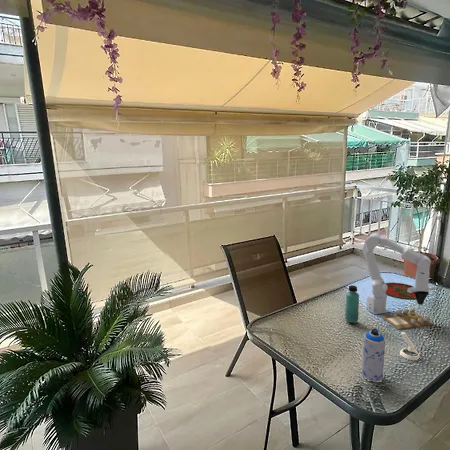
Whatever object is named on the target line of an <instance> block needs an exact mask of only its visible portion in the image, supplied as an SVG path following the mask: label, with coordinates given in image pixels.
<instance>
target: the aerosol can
mask: <svg viewBox="0 0 450 450" xmlns="http://www.w3.org/2000/svg"><path fill="white" fill-rule="evenodd" d="M362 346H363V347H362V363H361V372H362V375H363V376H364V377H365V378H367V379H369V380H372V381H380V380H382V378H383V379H384V364H385V353H386V352H385V351H386V338H385V337H384V335H383V334H382V333H380V332H379V329H377V328H372V329H371V330H370V331H367V332H365V333H364V336H363V345H362ZM362 375H361V376H362Z"/></svg>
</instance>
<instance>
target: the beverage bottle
mask: <svg viewBox="0 0 450 450" xmlns="http://www.w3.org/2000/svg"><path fill="white" fill-rule="evenodd" d="M345 296H346V298H345V313H344V316H345V321H347V322H349V323H357V322H358V320H359V316H360V315H359V307H360V306H359V305H360V294H359V293H358V286H357V285H349V286H348V292H346V293H345Z"/></svg>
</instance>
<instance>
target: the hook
mask: <svg viewBox="0 0 450 450" xmlns="http://www.w3.org/2000/svg"><path fill="white" fill-rule="evenodd" d="M401 336H402V338H403V339H404V340H405V342H406V344H407V345H408V347H403V348H401V350H400V351H399V355H400V356H401V355H402V356H403V357H405V358H407V359H406V360H408V359H410V360H409V361H411V360H417V359H419V358H420V359H421V355H420V354H419V352H418V351H417V350H416V349H415V348H416V347H415V345H414V343H412V341H411V339H410V338H409V336H408V335H407V333H406V332H405V331H403V332H401ZM404 350H405V351H407V350H408V352H411V353H414V354H415V355H409V354H406V353H405V352H404ZM417 354H418V355H417ZM402 356H401V357H402ZM403 357H402V358H403ZM405 358H404V359H405ZM420 359H419V360H420ZM417 361H418V360H417Z"/></svg>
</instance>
